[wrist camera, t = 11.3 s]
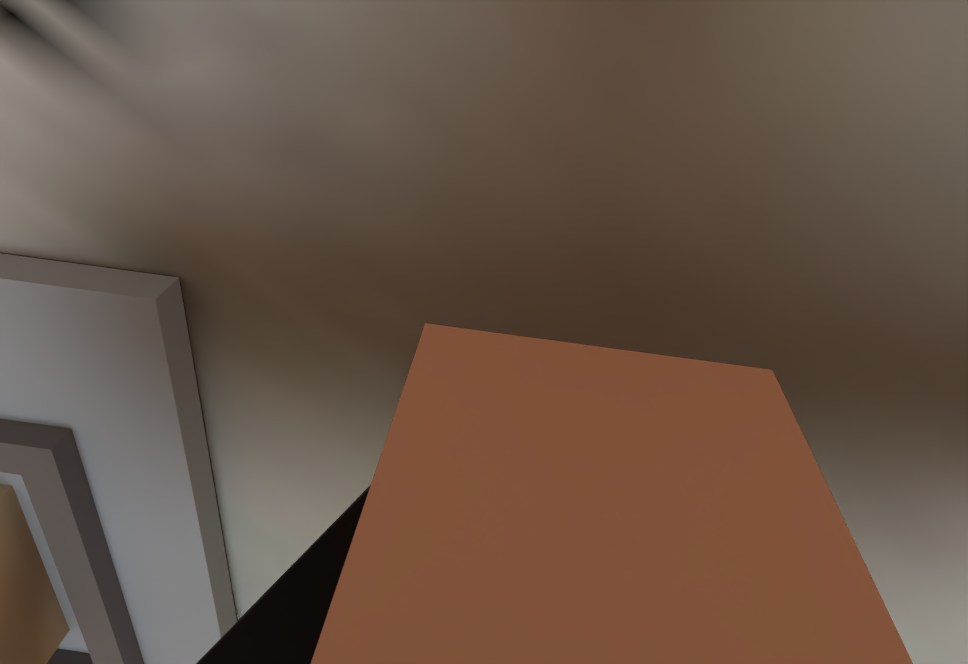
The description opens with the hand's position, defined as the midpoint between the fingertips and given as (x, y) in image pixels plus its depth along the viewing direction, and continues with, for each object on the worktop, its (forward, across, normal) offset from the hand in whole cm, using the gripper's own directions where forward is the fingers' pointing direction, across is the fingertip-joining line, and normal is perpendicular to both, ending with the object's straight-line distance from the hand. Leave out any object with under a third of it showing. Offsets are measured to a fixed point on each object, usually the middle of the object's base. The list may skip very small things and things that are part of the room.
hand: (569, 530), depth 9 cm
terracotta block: (+1, 0, 0) cm, 1 cm away
